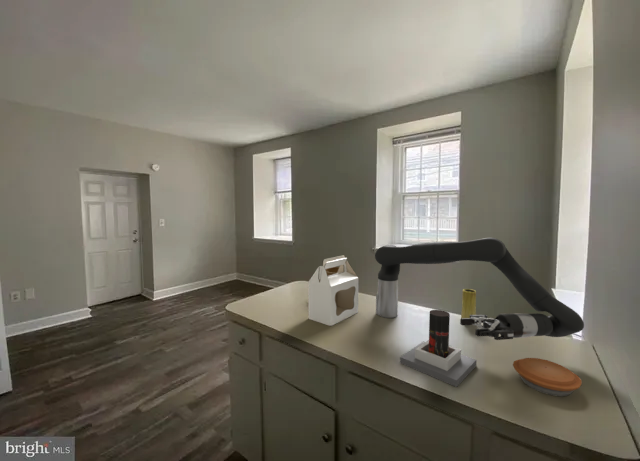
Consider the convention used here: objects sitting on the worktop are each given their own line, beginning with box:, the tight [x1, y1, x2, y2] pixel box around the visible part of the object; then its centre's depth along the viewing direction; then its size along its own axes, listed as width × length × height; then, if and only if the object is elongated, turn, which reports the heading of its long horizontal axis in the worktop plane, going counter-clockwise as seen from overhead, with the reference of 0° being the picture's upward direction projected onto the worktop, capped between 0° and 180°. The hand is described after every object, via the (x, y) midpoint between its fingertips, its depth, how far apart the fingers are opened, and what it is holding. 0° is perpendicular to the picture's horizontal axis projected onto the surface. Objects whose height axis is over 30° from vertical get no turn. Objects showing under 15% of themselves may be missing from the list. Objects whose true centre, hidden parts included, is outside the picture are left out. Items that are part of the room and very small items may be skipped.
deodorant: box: [428, 309, 451, 358], centre depth 93 cm, size 6×6×15 cm
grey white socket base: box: [399, 339, 478, 388], centre depth 93 cm, size 18×16×5 cm
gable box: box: [307, 254, 359, 327], centre depth 136 cm, size 22×13×28 cm, turn 140°
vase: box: [460, 288, 477, 319], centre depth 128 cm, size 6×6×14 cm
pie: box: [512, 357, 583, 397], centre depth 83 cm, size 16×16×5 cm
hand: (468, 327), depth 93 cm, fingers open, 8 cm apart
